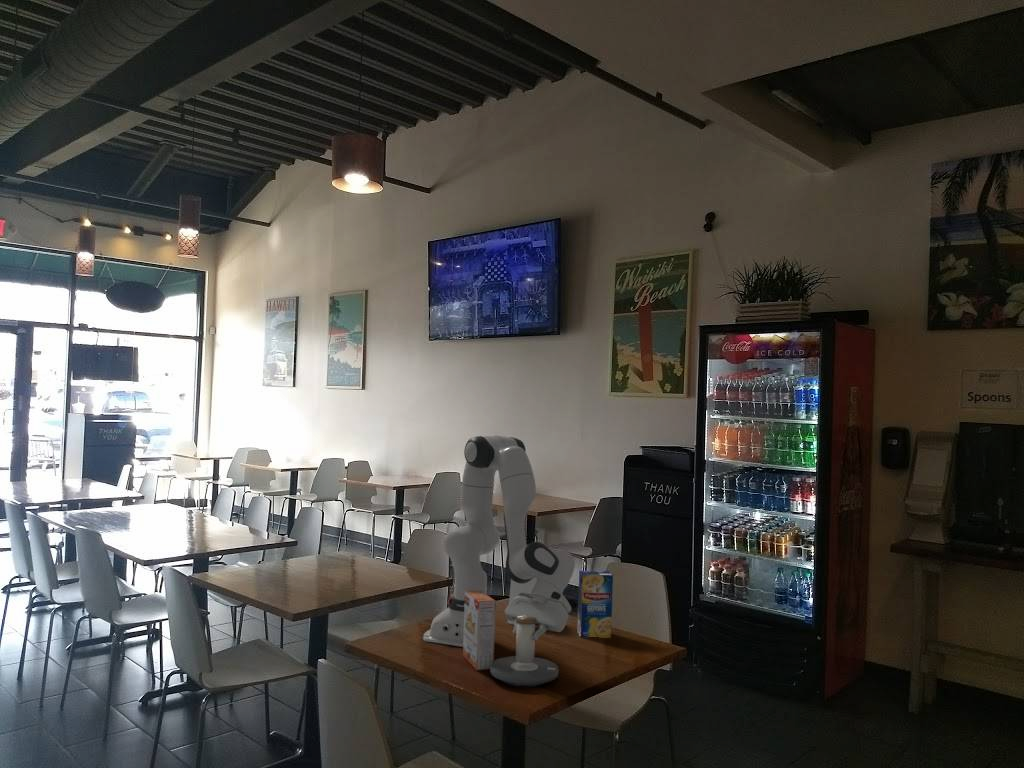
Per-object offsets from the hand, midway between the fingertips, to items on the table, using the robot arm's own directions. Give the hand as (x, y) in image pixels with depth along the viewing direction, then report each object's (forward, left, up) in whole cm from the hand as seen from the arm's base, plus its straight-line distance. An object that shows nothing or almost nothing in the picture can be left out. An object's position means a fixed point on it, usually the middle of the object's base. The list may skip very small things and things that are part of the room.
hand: (524, 636), depth 222 cm
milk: (-8, +64, -12) cm, 65 cm away
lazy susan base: (0, +1, -12) cm, 12 cm away
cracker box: (-16, +11, -12) cm, 23 cm away
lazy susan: (0, +1, -10) cm, 10 cm away
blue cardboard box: (+18, +53, -12) cm, 57 cm away
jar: (0, +1, -7) cm, 7 cm away
